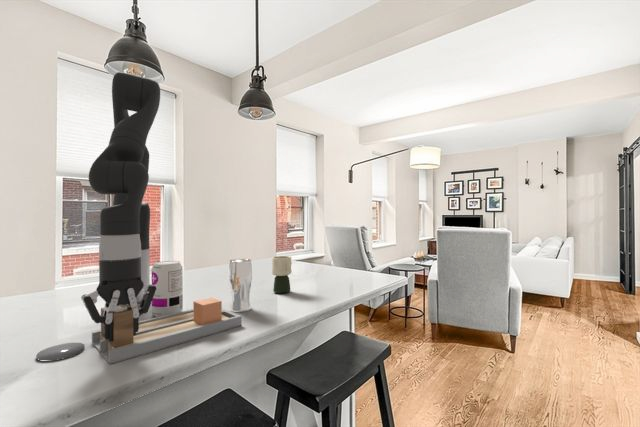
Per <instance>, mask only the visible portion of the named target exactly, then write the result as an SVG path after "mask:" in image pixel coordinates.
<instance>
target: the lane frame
mask: <svg viewBox="0 0 640 427" xmlns="http://www.w3.org/2000/svg"><path fill="white" fill-rule="evenodd" d="M191 312H194V308H192V309H189V310H182V311H181V312H179V313H174V314H170V315H165V316H161V317H152V318H148V319H143V320H139V325H140V324H144V323H148V322H153V321H157V320H161V319H166V318H170V317H174V316H178V315H183V314H187V313H191ZM222 315H224V316H226V317H228V318H227V319H224V320H220V321H216V322H212V323H209V324H205V325H201V326H197V327H194V328H190V329H186V330H182V331H179V332H175V333H171V334H167V335H164V336H160V337H156V338H152V339H149V340H145V341H141V342H137V343H134V344H130V345H126V346H123V347H119V348H115V349H111V350H108V342H109V341H108V340H106V339H104V340H100V334H101V329H100V330H99V329H98V330H94V331H91V344H92V343H93V344H94V345H93V344H92V345H93V347H94V348H96V350H97V349H98V350H97V351H98V352H99V353H100V355H101V356H103V358H104V359H105V361H106V362H107V363H108V364H109V365H114V364H116V363H120V362H124V361H126V360H130V359H134V358H137V357H141V356H143V355H146V354H149V353H154V352H156V351H157V352H158V351H161V350H164V349H167V348H168V349H169V348H170V347H174V346H177V345H180V344H184V343H189V342H191V341H194V340H197V339H202V338H204V337H208V336H211V335H215V334H219V333H221V332H224V331H227V330H232V329H235V328H238V327H242V324H243V323H242V315H241V314H237V313H236V312H232V311H231V310H227V309H225V308H222ZM191 321H194V318H190V319H185V320H181V321H177V322H173V323H169V324H165V325H161V326H157V327H153V328H149V329H145V330H140V331H138V332H136V335H139V334H143V333H147V332H151V331H155V330H159V329H163V328H167V327H171V326H175V325H179V324H183V323H187V322H191Z"/></svg>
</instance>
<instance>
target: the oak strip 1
mask: <svg viewBox="0 0 640 427" xmlns="http://www.w3.org/2000/svg"><path fill="white" fill-rule="evenodd" d="M112 307H113V306H112ZM119 308H123V307H122V306H121V305H119V306H116V309H119ZM103 314H104V307H100V315H103ZM190 318H194V312H191V313H187V314H183V315H178V316H174V317H170V318H166V319H161V320H157V321H153V322H148V323H144V324H140V325H139V330H138V331H140V330H145V329H149V328H153V327H157V326H161V325H165V324H169V323H173V322H177V321H181V320H185V319H190ZM100 330H101V334H100V340H104V339H105V338H104V336H103V323H100Z"/></svg>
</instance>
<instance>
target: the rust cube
mask: <svg viewBox="0 0 640 427" xmlns="http://www.w3.org/2000/svg"><path fill="white" fill-rule="evenodd" d="M192 302H193V309H194V322H196V323H198V324H200V325H205V324H209V323H212V322H216V321H220V320H222V309H223V307H222V300H219V299H217V298H215V297H207V298H204V299H199V300H194V301H192Z"/></svg>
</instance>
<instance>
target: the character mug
mask: <svg viewBox="0 0 640 427" xmlns="http://www.w3.org/2000/svg"><path fill="white" fill-rule="evenodd" d="M271 261H272V262H271V269H272V270H271V271H272V272H271V274H272V275H274V276H275V277H274V282H273V292H274V293H283V294H285V293H289V292H290V291H291V282H290V278H289V275H291V273H292V271H293V270H292V264H293V263H292V262H293V261H292V256H290V255H279V256H278V255H276V256H272V258H271Z"/></svg>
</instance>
